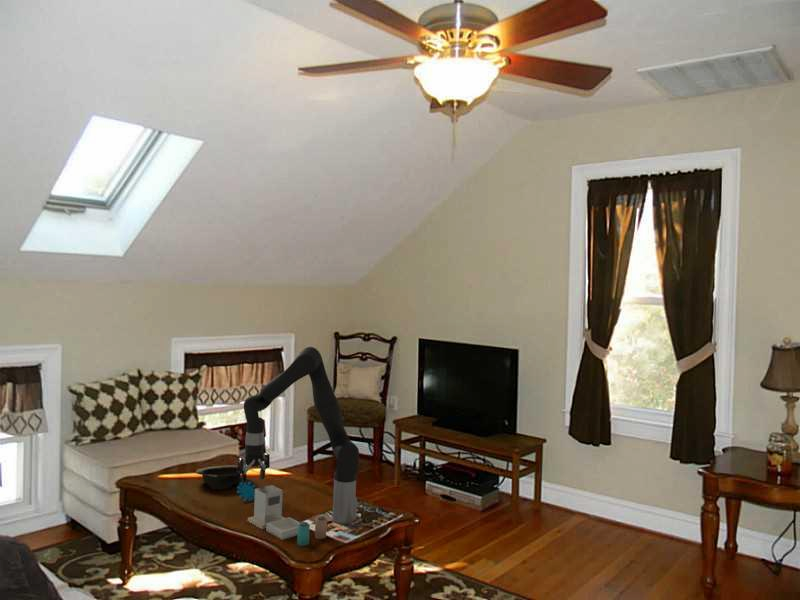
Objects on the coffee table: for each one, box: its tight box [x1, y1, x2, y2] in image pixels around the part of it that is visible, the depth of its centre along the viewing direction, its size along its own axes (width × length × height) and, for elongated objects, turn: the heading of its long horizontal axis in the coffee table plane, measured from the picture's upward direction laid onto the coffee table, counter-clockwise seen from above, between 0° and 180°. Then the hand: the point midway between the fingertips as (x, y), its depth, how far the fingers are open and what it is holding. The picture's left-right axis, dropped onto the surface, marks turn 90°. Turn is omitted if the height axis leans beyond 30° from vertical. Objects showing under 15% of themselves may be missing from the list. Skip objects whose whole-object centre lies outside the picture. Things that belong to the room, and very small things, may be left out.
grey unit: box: [247, 484, 286, 530], centre depth 269 cm, size 12×11×14 cm
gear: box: [236, 480, 256, 502], centre depth 296 cm, size 11×6×10 cm
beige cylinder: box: [314, 515, 328, 540], centre depth 256 cm, size 4×4×8 cm
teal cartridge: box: [296, 521, 310, 547], centre depth 249 cm, size 4×4×8 cm
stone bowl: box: [195, 464, 242, 491], centre depth 314 cm, size 25×25×9 cm
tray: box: [265, 517, 301, 541], centre depth 260 cm, size 11×11×3 cm
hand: (253, 480), depth 277 cm, fingers open, 8 cm apart
